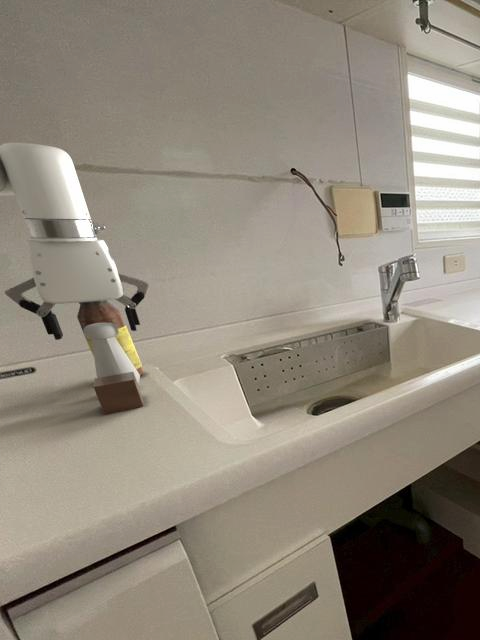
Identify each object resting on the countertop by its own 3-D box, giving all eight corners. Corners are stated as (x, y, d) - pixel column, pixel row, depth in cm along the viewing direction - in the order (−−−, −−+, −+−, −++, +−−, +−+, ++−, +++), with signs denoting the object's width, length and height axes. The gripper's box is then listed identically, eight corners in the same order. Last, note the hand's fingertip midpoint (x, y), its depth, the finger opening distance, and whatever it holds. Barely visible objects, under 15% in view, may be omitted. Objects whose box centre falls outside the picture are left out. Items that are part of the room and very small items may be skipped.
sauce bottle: (139, 370, 86) (106, 275, 78) (149, 376, 82) (115, 278, 75) (98, 379, 81) (59, 279, 73) (107, 386, 77) (66, 282, 70)
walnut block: (105, 404, 70) (94, 378, 68) (142, 397, 73) (133, 371, 71) (104, 414, 67) (93, 387, 65) (143, 406, 70) (133, 379, 68)
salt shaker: (142, 382, 79) (119, 318, 75) (145, 391, 76) (122, 324, 71) (102, 391, 76) (75, 323, 71) (103, 400, 72) (75, 330, 67)
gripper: (132, 230, 73) (159, 322, 79) (-15, 230, 62) (29, 336, 68) (133, 232, 68) (161, 330, 74) (-27, 232, 57) (22, 347, 63)
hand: (98, 333), depth 71 cm, fingers open, 9 cm apart
